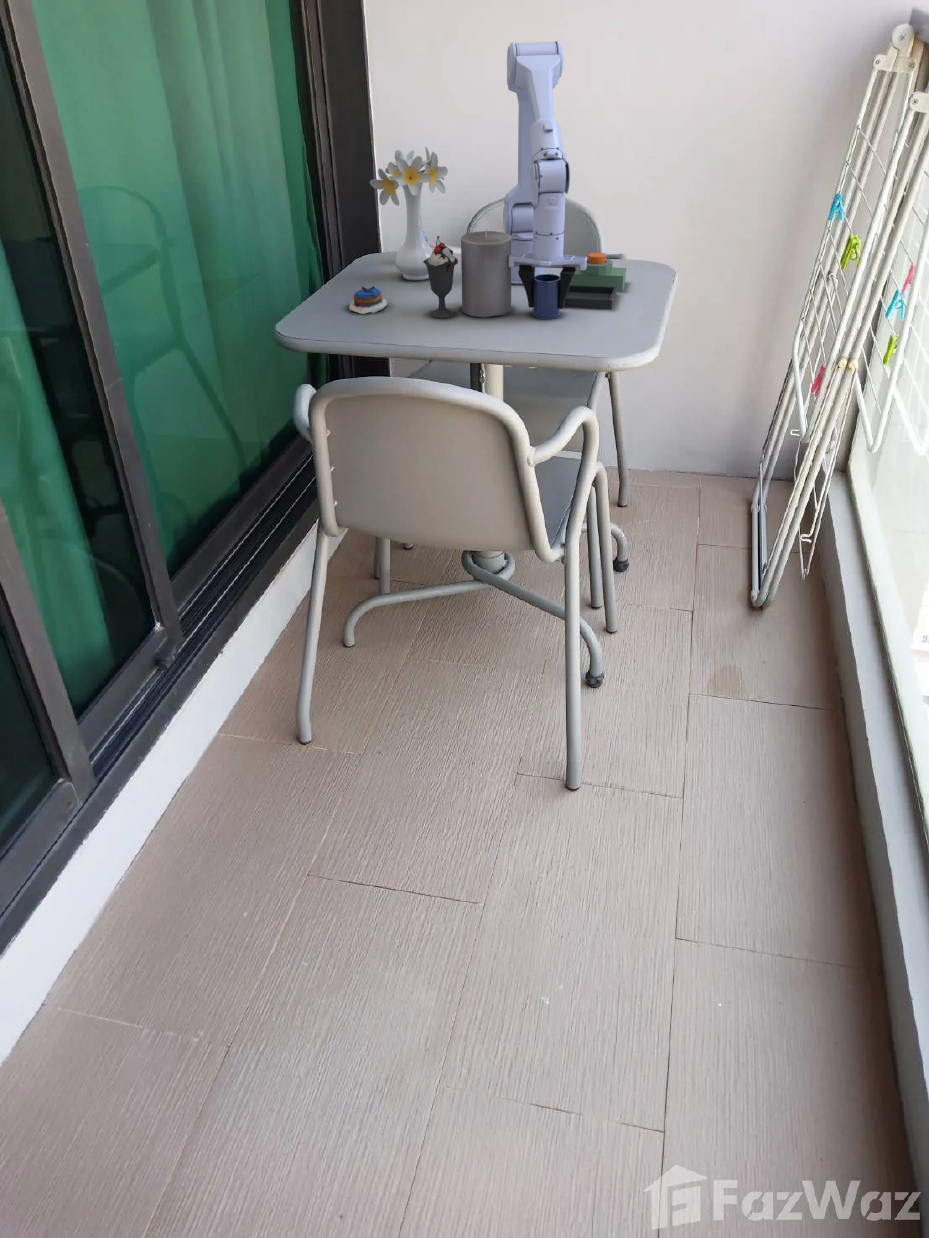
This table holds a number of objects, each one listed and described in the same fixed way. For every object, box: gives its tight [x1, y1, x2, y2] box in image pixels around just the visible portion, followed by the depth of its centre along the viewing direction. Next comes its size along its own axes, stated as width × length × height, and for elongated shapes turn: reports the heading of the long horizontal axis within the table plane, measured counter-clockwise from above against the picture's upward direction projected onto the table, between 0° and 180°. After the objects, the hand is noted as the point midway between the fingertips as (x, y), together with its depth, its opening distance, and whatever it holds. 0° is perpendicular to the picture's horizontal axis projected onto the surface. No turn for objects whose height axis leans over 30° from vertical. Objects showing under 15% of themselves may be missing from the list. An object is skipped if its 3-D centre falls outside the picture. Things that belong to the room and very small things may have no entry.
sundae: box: [423, 235, 459, 319], centre depth 172 cm, size 7×7×15 cm
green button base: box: [570, 257, 627, 293], centre depth 188 cm, size 12×6×5 cm, turn 76°
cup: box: [531, 273, 561, 320], centre depth 172 cm, size 5×5×7 cm
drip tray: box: [563, 285, 618, 310], centre depth 180 cm, size 10×9×2 cm
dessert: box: [348, 285, 388, 315], centre depth 180 cm, size 8×7×6 cm
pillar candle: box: [460, 229, 512, 318], centre depth 173 cm, size 10×10×15 cm
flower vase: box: [369, 145, 449, 281], centre depth 190 cm, size 13×18×25 cm
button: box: [587, 252, 607, 264], centre depth 186 cm, size 4×4×2 cm
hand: (546, 306), depth 174 cm, fingers closed on cup, 5 cm apart
